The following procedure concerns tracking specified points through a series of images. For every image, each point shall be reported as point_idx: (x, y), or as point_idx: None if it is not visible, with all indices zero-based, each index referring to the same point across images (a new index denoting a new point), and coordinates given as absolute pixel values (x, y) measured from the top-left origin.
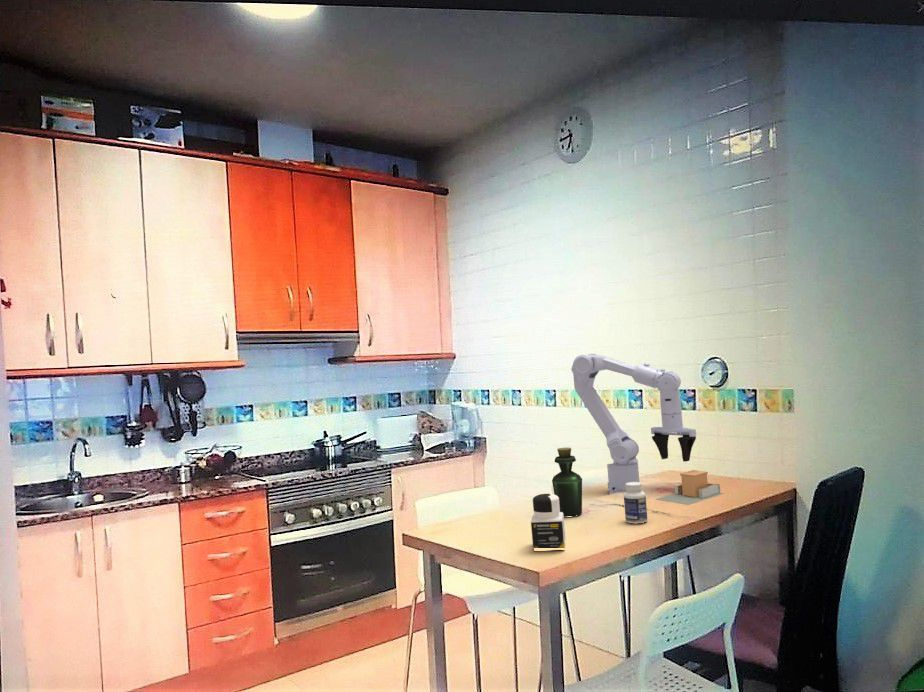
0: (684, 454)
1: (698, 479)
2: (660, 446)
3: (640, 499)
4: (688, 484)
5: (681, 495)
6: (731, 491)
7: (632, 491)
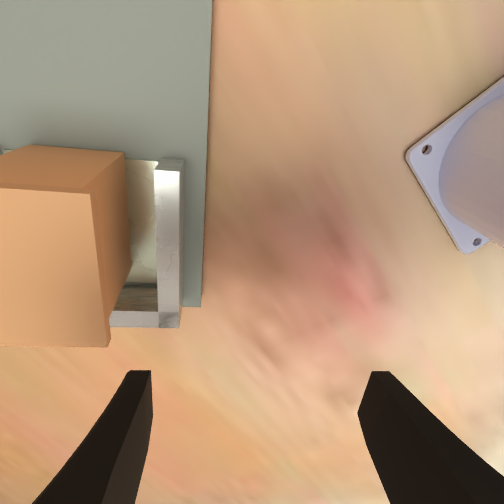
0: (95, 427)
1: None
2: (458, 487)
3: None
4: (39, 165)
5: (140, 156)
6: (78, 382)
7: None
